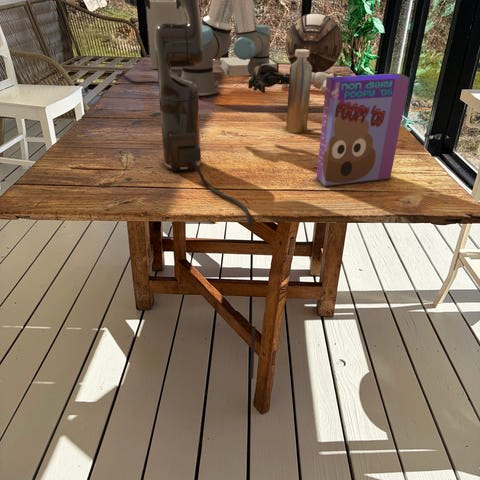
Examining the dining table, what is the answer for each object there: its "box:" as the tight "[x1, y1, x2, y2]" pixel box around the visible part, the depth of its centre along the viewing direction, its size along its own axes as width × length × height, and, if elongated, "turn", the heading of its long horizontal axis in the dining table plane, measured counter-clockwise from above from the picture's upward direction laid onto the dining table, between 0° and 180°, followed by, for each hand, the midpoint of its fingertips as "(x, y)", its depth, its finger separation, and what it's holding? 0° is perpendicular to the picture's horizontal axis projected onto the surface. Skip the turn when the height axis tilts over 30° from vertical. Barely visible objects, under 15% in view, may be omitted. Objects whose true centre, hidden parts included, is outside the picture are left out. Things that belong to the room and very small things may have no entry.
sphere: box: [284, 12, 344, 73], centre depth 209 cm, size 25×25×25 cm
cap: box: [295, 49, 309, 57], centre depth 136 cm, size 4×4×2 cm
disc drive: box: [220, 56, 280, 77], centre depth 217 cm, size 18×22×5 cm
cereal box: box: [315, 73, 410, 187], centre depth 109 cm, size 17×5×24 cm, turn 106°
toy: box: [281, 71, 342, 93], centre depth 188 cm, size 24×25×7 cm
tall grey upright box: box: [146, 0, 187, 71], centre depth 219 cm, size 19×15×28 cm
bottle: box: [285, 57, 312, 134], centre depth 142 cm, size 6×6×23 cm
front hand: (163, 8), depth 144 cm, fingers open, 8 cm apart
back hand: (283, 87), depth 159 cm, fingers open, 13 cm apart
